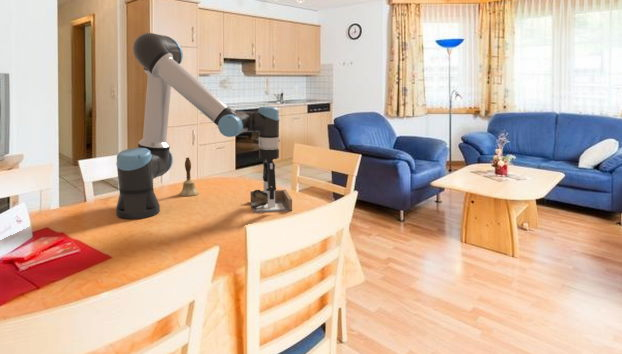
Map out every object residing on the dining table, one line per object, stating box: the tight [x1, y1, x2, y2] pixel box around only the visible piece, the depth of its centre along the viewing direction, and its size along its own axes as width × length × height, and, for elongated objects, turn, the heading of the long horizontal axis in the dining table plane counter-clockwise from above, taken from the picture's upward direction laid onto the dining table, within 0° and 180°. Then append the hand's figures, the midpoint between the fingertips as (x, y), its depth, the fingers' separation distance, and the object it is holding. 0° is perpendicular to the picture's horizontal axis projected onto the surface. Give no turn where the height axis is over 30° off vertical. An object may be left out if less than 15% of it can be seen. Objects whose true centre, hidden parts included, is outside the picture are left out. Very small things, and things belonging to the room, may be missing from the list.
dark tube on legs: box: [250, 189, 268, 209], centre depth 168 cm, size 8×7×9 cm
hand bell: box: [179, 157, 200, 197], centre depth 187 cm, size 8×8×16 cm
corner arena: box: [249, 189, 293, 214], centre depth 171 cm, size 14×15×4 cm
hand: (269, 202), depth 168 cm, fingers open, 13 cm apart
